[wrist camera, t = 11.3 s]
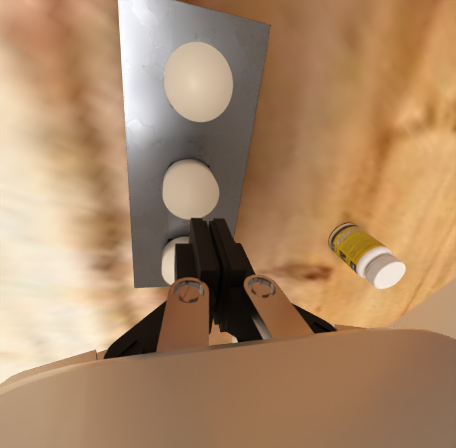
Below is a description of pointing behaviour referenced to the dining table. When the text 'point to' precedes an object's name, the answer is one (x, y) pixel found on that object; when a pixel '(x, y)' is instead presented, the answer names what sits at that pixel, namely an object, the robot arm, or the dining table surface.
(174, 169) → the knob middle
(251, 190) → the dining table surface
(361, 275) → the supplement bottle
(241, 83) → the knob plate
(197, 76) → the knob
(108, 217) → the dining table surface
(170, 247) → the knob
